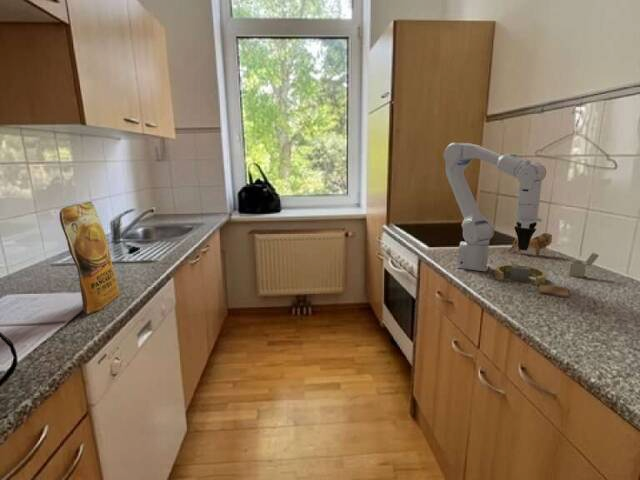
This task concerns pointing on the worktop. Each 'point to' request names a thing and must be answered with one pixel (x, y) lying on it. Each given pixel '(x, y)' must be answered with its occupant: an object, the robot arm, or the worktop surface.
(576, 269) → the lighter
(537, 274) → the c ring
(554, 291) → the coaster
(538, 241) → the lion figurine
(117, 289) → the pancake mix bag
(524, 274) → the c link
